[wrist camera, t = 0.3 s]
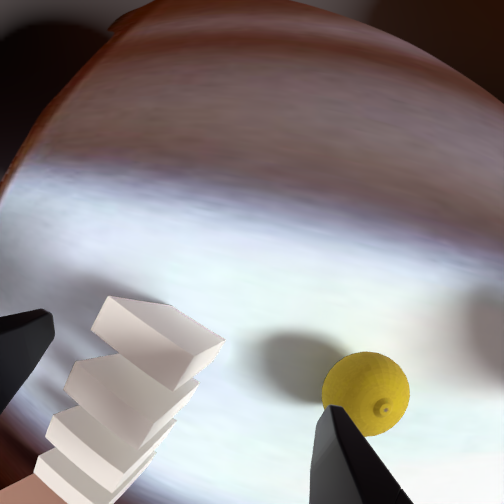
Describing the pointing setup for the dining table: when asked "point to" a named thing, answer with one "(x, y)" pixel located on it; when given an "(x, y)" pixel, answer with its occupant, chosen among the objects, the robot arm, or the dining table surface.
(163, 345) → the tile end
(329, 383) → the lemon
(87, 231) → the dining table surface
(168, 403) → the tile
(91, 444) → the tile
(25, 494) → the tile
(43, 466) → the tile
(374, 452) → the robot arm
